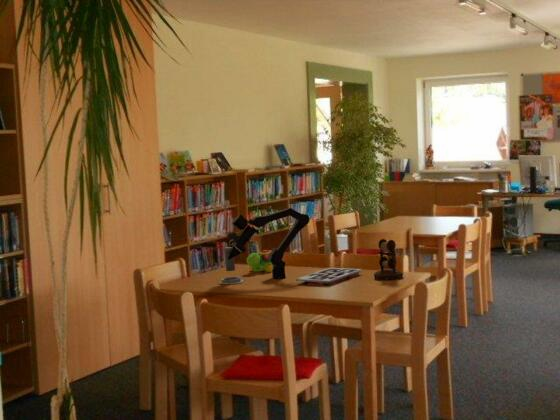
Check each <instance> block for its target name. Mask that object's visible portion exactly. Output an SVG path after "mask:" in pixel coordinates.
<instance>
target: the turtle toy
mask: <svg viewBox="0 0 560 420" xmlns="http://www.w3.org/2000/svg"><path fill="white" fill-rule="evenodd" d="M270 252H271V251H270V250H268V249H262V250H261V251H260V252H258V253H256V252H252V253H250V254H249V255H248V257H246V264H247V265H248V266H249V267H248V269H249V271H251V272H266V273H272V269H273V265H272V263H271V262H270V261H269V259H268V256H269V255H270V254H269V253H270Z"/></svg>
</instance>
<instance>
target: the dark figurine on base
mask: <svg viewBox="0 0 560 420" xmlns="http://www.w3.org/2000/svg"><path fill="white" fill-rule="evenodd" d="M378 248H379V253H378V254H379V255H380V258H379V266H380V270H377V271H375V272H374V273H373V277H374V279H377V278H383V279H386V281H389V279H390V278H399V277H400V278H401V279H402V278H403V275H404V272H403V271H401V270H399V269H397V268H396V267H397V256H396V250H395V249H396V242H395V240H393V239H389V240H388V241H387V240H386V239H385V238H381V239H380V240H379V241H378ZM386 256H387V257H386Z"/></svg>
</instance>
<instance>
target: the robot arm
mask: <svg viewBox="0 0 560 420" xmlns="http://www.w3.org/2000/svg"><path fill="white" fill-rule="evenodd" d="M287 217H291V218H293V219H295V220H294V223H293V225H292V227H291V229H289V230H288V233H287V234H286V235H285V237H284V238H283V240H282V241H281V243H280V244H279V245H278V246H277V247H276V248H275V247H273V248H272V249H271V251H269V252H270V253H269V254H270V255H269V256H268V259H269V261H270V262H271V263H272V265H273V269H272V272H271V273H272V275H271V276H272V278H273V280H275V279H285V278H287V276H286V262H285V261H284V260H283V258H284V255H285V252H286V250H287V249H288V248H289V246H291V244H292V242H293V241H294V239H295V238H296V237H297V235H298V234H299V232H300V231H301V230H302V229H304V228H305V227H306V226H307V225H308V224H309V223H310V220H311V219H310V216H309V215H308V214H306V213H301V212H298V211H296V210H295V209H294V208H293V207H287V208H285V209H282V210H279V211H276V212H272V213H269V214H265V215H256V216H253V217H252V218H251V219H246V218H245V217H244V216H243V215H242V214H241V213H239V215H238V216H236V217H235V218H234V219H233V221H232V222H231V224H232V225H233V226H234V227H236V229H238V230H239V231H241V230H242V232H241V233H238V234H237V232H235V231H232V232H230V231H228V232H227V234H226V236H225V237H226V238H227V239H229V242H228V243H229V244H228V245H229V247H232V248H233V249H232V251H231V253H230V255H229V256H228V259H231V258H233V257H234V258H235V257H236V256H238V255H241V254H245V252H246V251H247V248H246V247H245V246H246V245H247V244H248V243H250V240H251V239H252V238H253V237H254V236H255V234H257V235H260V228H263V227H264V226H265V225H267V224H269V223H271V222H274V221H277V220H280V219H283V218H287ZM255 227H256V228H255ZM257 228H258V229H257Z"/></svg>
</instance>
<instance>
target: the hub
mask: <svg viewBox="0 0 560 420" xmlns="http://www.w3.org/2000/svg"><path fill="white" fill-rule="evenodd" d="M243 281H244V280H243V279H241V276H226V277H224V278H223V277H222V278H221V280H220V281H219V282H218V284H219V285H221V284H225V285H224V286H229V285H228V284H234V285H238V283H240V284H243V283H244V282H243ZM242 282H243V283H242ZM226 284H227V285H226Z"/></svg>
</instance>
